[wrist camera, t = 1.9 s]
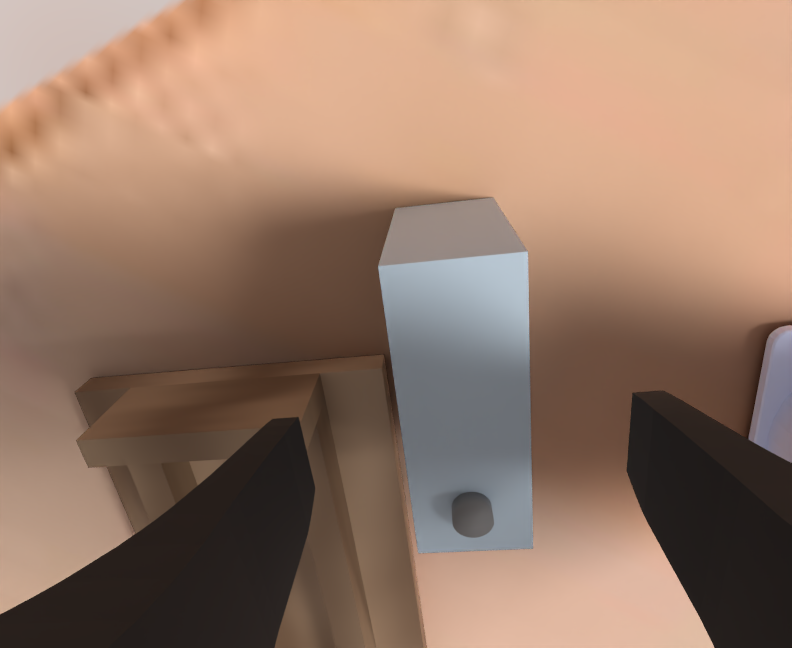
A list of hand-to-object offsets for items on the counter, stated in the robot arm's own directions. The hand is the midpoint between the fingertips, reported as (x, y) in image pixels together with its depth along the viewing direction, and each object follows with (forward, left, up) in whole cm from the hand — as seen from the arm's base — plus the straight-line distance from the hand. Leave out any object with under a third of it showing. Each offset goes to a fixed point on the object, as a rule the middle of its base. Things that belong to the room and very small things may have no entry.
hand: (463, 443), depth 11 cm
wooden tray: (+8, +10, -7) cm, 14 cm away
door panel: (0, 0, -7) cm, 7 cm away
